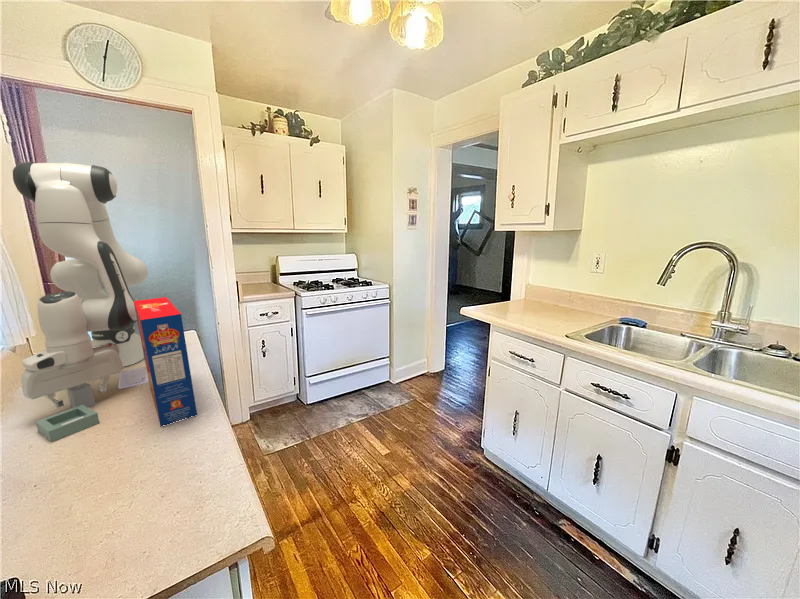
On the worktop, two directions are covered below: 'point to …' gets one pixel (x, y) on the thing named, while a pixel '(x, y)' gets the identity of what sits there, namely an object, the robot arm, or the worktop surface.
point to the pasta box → (166, 359)
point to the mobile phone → (133, 377)
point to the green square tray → (67, 422)
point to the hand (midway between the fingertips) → (82, 398)
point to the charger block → (81, 395)
